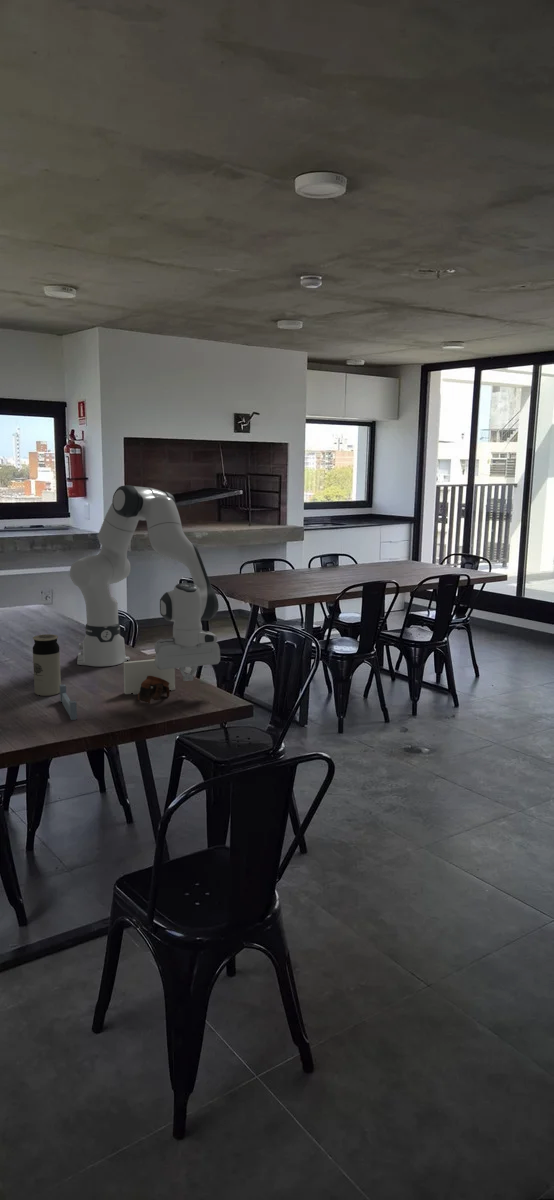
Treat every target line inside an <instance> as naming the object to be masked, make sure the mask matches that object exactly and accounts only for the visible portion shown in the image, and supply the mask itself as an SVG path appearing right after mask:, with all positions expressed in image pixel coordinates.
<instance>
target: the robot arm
mask: <svg viewBox="0 0 554 1200" xmlns="http://www.w3.org/2000/svg"><path fill="white" fill-rule="evenodd" d="M111 501H112V503H111V504H110V506H109V507H108V510H107V512H106V514H105V517H104V519H103V522H102V524H101V527H100V529H99V531H98V534H97V539H98V542H99V543H100V545H101V548H100V552H99V553H98V554H96V555H90V556H84V557H81V558H79V559H77V560H76V561H74V562H72V564H71V565H70V568H69V577H70V579H71V581H72V583H73V584H74V585H75V586H76V587H77V588H78V589H79V590H80V592H81V593H82V597H83V599H84V602H85V614H86V624H85V636H84V639H83V640H82V642H80V643H78V650H79V651H80V652H78V653H77V662H76V663H77V664H76V665H81V666H87V667H88V666H90V667H110V666H111V667H112V666H116V665H117V666H118V665H120V664H124V662H128V661H131V660H130V659H131V657H130V656H129V655H126V648H125V647H126V645H125V638H124V637H123V636H122V635H121V625H120V623H119V605H118V603H119V602H118V601H117V600H116V599H115V598H114V597H113V596H112V595H111V594H110V590H109V585H113V584H117V583H120V582H121V581H124V580H125V579H126V578H128V577H129V575H130V573H131V569H132V567H131V562H130V560H129V558H128V549H129V547H130V544H131V541H132V539H133V536H134V534H135V532H136V529H137V526H138V524H139V521H142V522H143V521H146V527H147V534H148V539H149V543H150V546H151V548H152V550H154V551H155V552H156V553H157V554H159V555H160V556H161V557H164V558H168V559H171V560H175V561H177V562H179V563H182V564H183V565H185V566H186V568H187V569H188V570H189V573H190V576H191V578H192V581H193V583H190V582H181V583H177V584H175V585H174V587H173V590H170V591H167V592H165V593H163V595H161V597H160V599H159V613H160V616H162V618H163V619H165V620H166V621H168V622H173V626H172V637H167V638H159V639H158V640H157V641H155V643H154V652H155V657H154V659H155V666H156V667H157V668H158V669H160V670H162V669H172V668H175V669H179V672H180V673H181V675H182V681H183V682H187V681H194V676H195V674H196V672H197V668H198V667H200V666H201V667H203V666H211V665H219V663H220V662H221V649H220V646H219V643H218V642H217V641H218V636H217V635H216V634H215V633H213V632H211V631H209V630H203V625H202V621H211V619H213V618H214V617H215V616H216V615H217V613H218V612H219V607H220V605H219V599H218V597H217V594H216V592H215V590H214V588H213V587H212V584H211V581H210V578H209V576H208V573H207V571H206V568H205V566H204V562H203V560H202V557H201V555H200V552H199V549H198V548H197V546H196V544H195V543H194V542H191V541H190V540H189V538H188V537H187V535H186V534H185V532H184V529H183V526H182V520H181V517H180V516H181V515H180V513H179V510H178V507H177V503H176V499H175V497H174V495H173V494H172V493H170V492H167V491H165V490H160V489H157V488H153V487H149V486H145V487H144V486H135V485H130V484H129V485H128V484H127V485H120V486H118V487H117V488H116V489H115V491H114V493H113V496H112V500H111ZM127 660H128V661H127ZM189 667H190V669H191V670H190V672H189V673H187V674H186V672H185V671H186V668H189Z"/></svg>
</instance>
